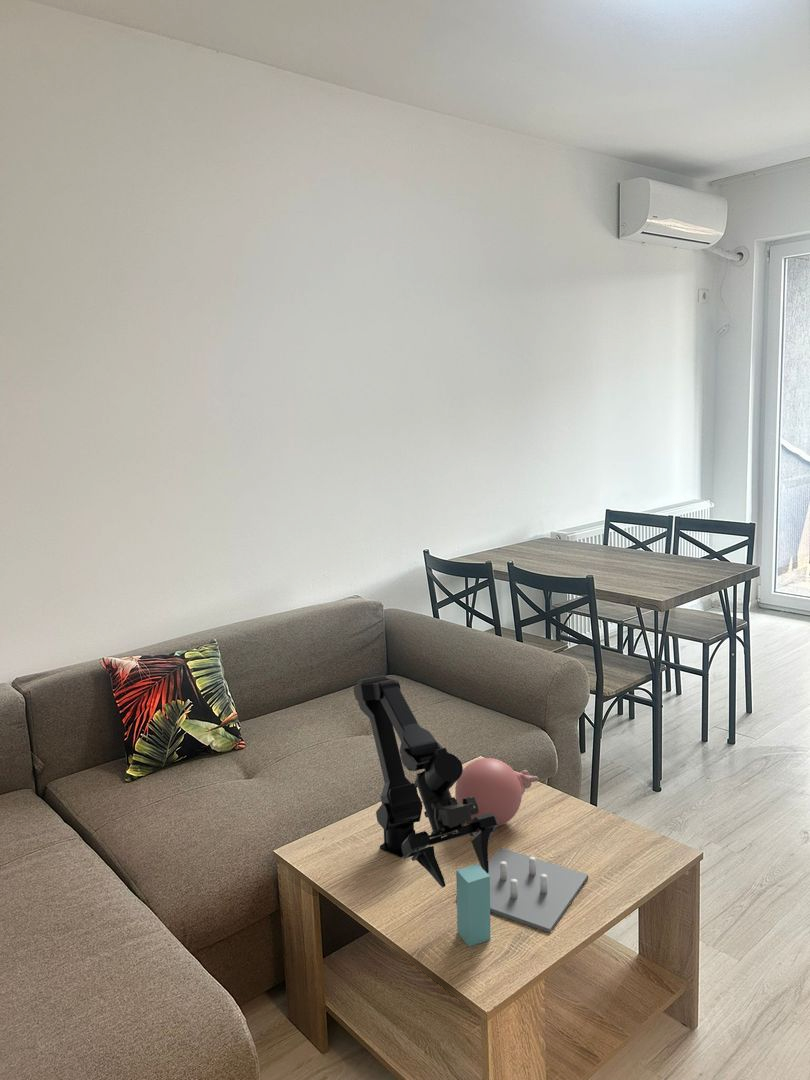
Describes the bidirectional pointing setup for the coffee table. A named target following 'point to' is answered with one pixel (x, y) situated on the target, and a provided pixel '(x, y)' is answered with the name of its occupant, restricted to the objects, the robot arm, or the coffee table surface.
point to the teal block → (473, 904)
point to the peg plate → (531, 889)
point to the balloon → (493, 788)
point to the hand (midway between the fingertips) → (465, 880)
